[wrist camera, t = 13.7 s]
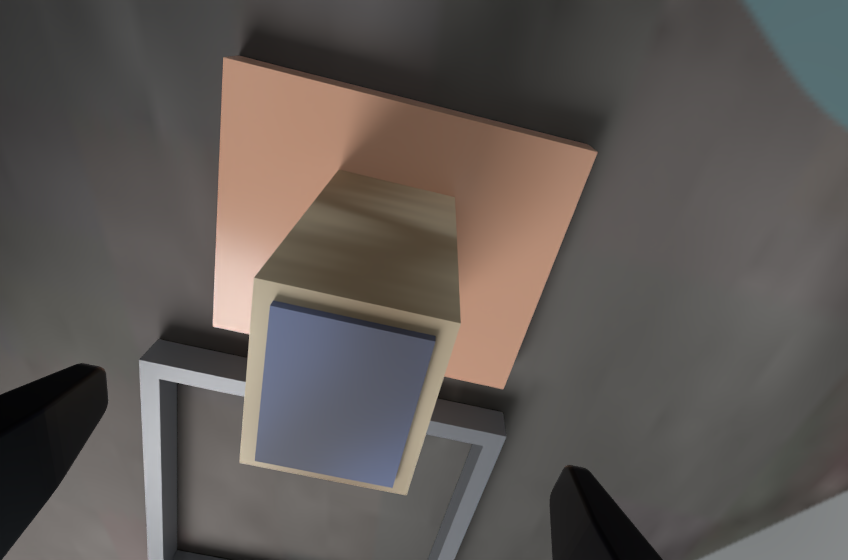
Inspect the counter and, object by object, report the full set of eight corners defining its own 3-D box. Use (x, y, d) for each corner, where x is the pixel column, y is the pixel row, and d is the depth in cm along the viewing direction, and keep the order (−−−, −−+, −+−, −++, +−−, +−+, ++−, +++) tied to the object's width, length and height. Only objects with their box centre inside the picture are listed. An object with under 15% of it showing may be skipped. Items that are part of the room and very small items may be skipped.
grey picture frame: (163, 555, 28) (149, 582, 27) (158, 339, 21) (139, 359, 20) (424, 603, 29) (423, 631, 28) (502, 412, 22) (506, 436, 21)
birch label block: (319, 296, 18) (236, 469, 11) (338, 169, 16) (250, 282, 9) (421, 319, 19) (405, 503, 11) (454, 197, 16) (461, 328, 9)
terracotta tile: (224, 311, 20) (212, 326, 19) (238, 55, 16) (223, 57, 15) (500, 371, 21) (503, 389, 20) (588, 144, 17) (597, 152, 16)
